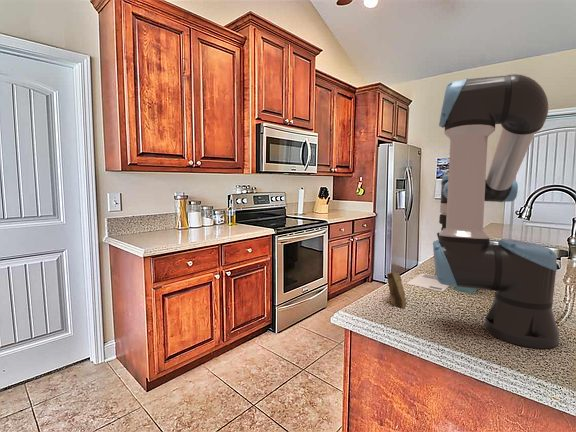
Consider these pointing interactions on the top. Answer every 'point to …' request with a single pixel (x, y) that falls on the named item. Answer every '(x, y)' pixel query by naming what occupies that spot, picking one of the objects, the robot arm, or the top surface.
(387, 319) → the top surface
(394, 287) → the rock
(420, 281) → the letter
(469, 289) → the teal cube
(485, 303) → the top surface
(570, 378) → the top surface
